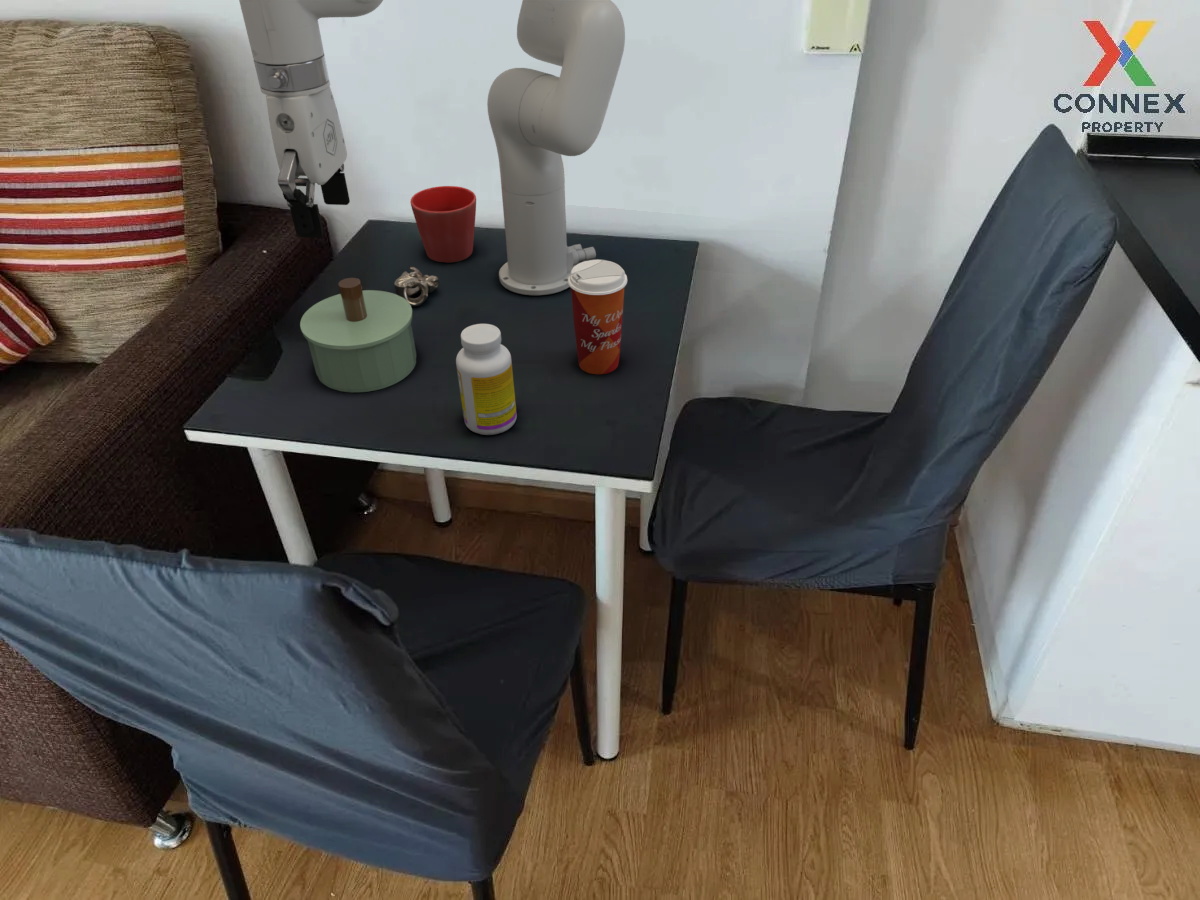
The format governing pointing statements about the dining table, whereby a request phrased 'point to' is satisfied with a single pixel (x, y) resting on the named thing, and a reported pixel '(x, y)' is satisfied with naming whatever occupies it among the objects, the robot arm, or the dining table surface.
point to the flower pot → (445, 222)
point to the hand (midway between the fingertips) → (324, 219)
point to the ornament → (415, 286)
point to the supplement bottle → (486, 380)
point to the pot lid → (356, 318)
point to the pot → (366, 364)
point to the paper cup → (597, 313)
